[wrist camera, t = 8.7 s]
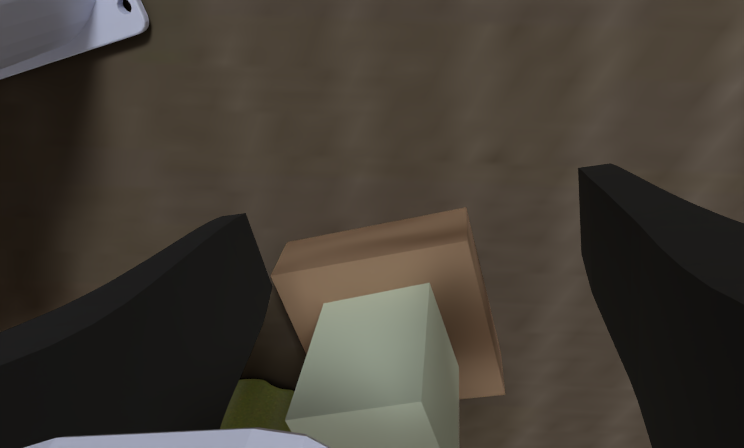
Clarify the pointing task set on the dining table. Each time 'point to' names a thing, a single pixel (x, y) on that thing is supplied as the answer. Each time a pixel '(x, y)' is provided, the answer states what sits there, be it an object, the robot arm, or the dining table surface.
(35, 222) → the dining table surface
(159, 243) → the dining table surface
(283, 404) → the plant pot
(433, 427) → the sage block
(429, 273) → the walnut slab
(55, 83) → the dining table surface
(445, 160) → the dining table surface
